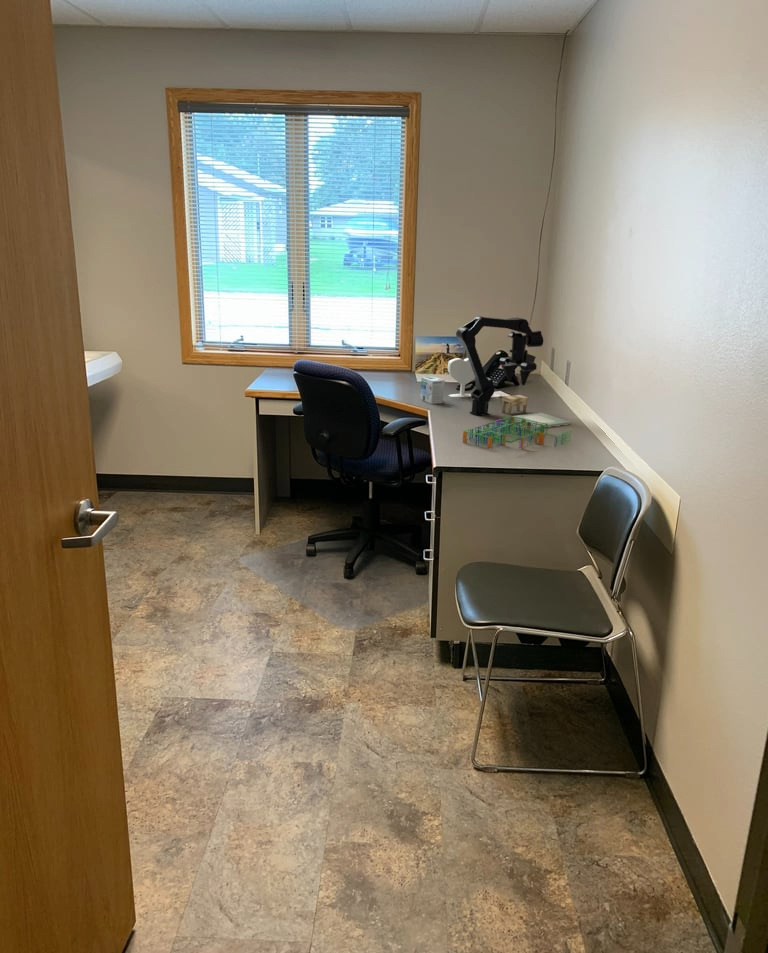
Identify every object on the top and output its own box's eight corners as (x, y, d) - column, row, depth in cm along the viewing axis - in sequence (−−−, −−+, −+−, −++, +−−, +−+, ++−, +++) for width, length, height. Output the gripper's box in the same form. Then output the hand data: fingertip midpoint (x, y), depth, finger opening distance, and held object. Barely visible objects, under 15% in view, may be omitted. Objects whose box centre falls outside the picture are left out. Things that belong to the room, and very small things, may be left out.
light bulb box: (419, 399, 352) (420, 376, 349) (432, 398, 355) (433, 375, 352) (431, 404, 343) (432, 380, 340) (443, 403, 346) (445, 380, 343)
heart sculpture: (475, 394, 368) (477, 357, 362) (478, 396, 363) (481, 359, 358) (445, 394, 364) (447, 357, 359) (448, 397, 360) (450, 359, 354)
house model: (508, 426, 309) (509, 415, 307) (574, 440, 291) (575, 428, 289) (460, 443, 283) (461, 430, 281) (530, 459, 265) (531, 445, 264)
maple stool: (509, 415, 327) (510, 399, 325) (500, 412, 332) (501, 396, 330) (526, 413, 332) (528, 397, 330) (518, 410, 337) (519, 394, 335)
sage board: (537, 428, 305) (537, 426, 305) (509, 419, 320) (509, 416, 319) (570, 424, 314) (570, 421, 313) (541, 415, 328) (541, 412, 328)
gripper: (547, 349, 319) (544, 385, 324) (518, 343, 334) (516, 378, 339) (527, 351, 314) (525, 387, 319) (499, 345, 329) (497, 380, 334)
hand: (516, 383), depth 328 cm, fingers open, 9 cm apart
